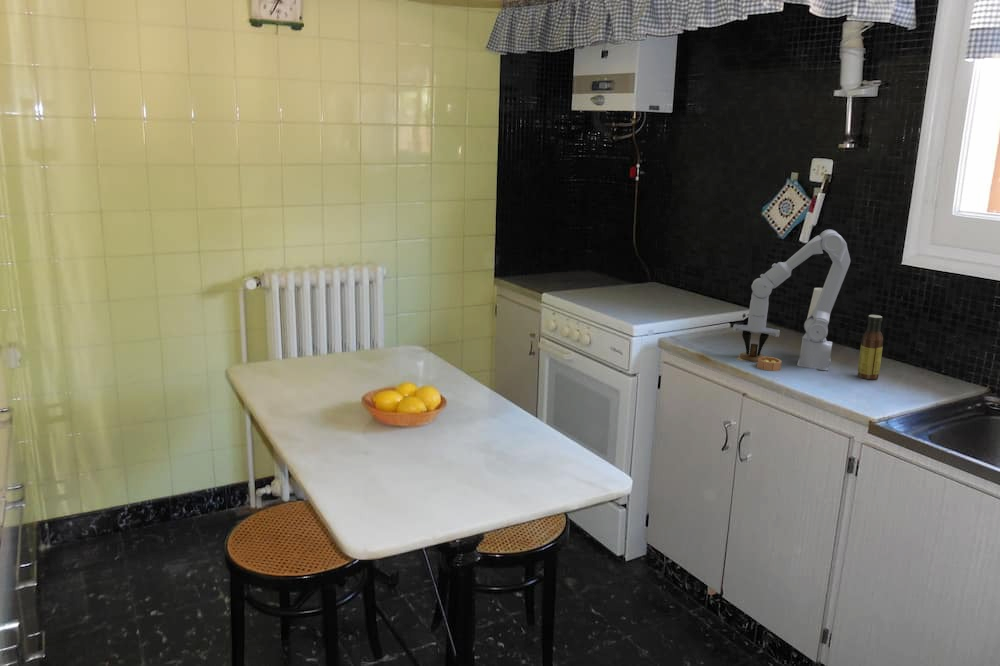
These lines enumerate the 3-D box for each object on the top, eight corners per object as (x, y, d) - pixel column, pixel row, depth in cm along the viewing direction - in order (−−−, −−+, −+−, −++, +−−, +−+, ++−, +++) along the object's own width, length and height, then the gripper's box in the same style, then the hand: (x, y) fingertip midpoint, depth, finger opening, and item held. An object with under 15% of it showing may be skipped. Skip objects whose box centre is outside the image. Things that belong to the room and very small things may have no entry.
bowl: (781, 367, 257) (782, 358, 257) (779, 373, 251) (780, 364, 250) (758, 364, 260) (759, 355, 259) (756, 370, 254) (757, 361, 253)
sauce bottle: (874, 374, 253) (884, 314, 248) (881, 380, 247) (891, 318, 242) (853, 373, 254) (862, 312, 249) (859, 379, 248) (869, 317, 243)
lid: (767, 357, 267) (768, 343, 266) (764, 363, 260) (766, 349, 258) (741, 353, 270) (743, 339, 269) (737, 359, 263) (739, 345, 262)
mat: (767, 358, 267) (768, 357, 267) (765, 364, 260) (765, 363, 260) (740, 354, 270) (740, 353, 270) (736, 360, 263) (737, 359, 263)
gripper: (782, 315, 262) (777, 354, 265) (737, 309, 267) (732, 348, 271) (780, 319, 256) (775, 360, 259) (733, 313, 261) (729, 353, 265)
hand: (753, 354), depth 265 cm, fingers open, 3 cm apart
